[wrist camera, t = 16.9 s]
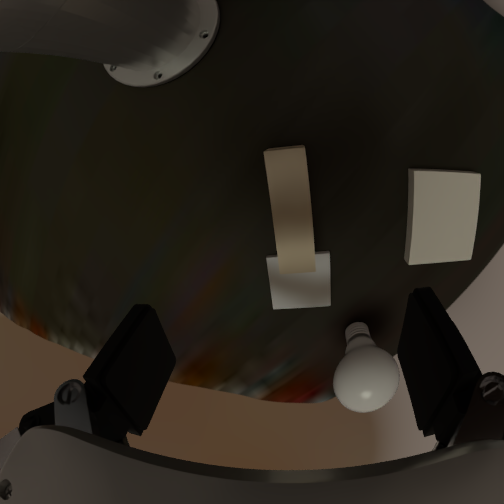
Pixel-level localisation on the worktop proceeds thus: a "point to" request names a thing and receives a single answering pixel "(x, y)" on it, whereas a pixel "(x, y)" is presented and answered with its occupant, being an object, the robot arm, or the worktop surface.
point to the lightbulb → (365, 372)
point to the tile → (441, 215)
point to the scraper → (294, 234)
